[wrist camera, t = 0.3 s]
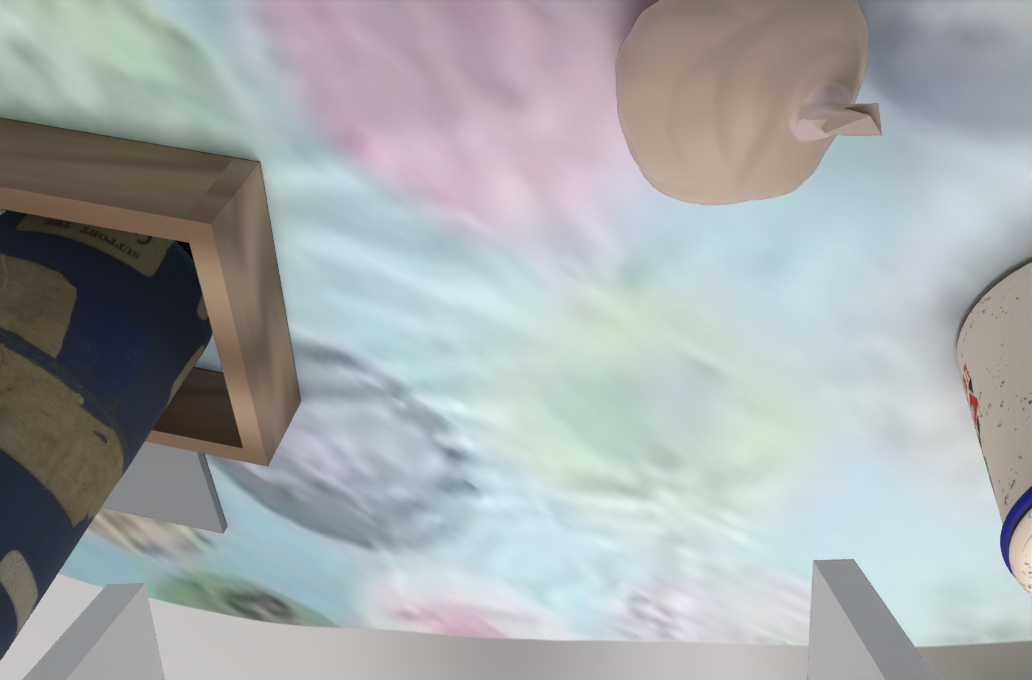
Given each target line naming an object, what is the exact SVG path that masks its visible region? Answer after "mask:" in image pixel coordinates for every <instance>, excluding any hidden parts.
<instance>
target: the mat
mask: <svg viewBox="0 0 1032 680" xmlns="http://www.w3.org/2000/svg"><path fill="white" fill-rule="evenodd" d="M102 508H105V509H109V510H114V511H119V512H123V513H128V514H133V515H138V516H142V517H147V518H152V519H157V520H161V521H166V522H171V523H175V524H180V525H185V526H190V527H194V528H199V529H204V530H208V531H213V532H218V533H223V534H224V532H225V530H226V528H227V525H226V522H225V519H224V515H223V512H222V509H221V506H220V503H219V500H218V497H217V493H216V490H215V487H214V484H213V481H212V478H211V475H210V471H209V468H208V465H207V462H206V459H205V456H204V453H199V452H194V451H189V450H184V449H179V448H174V447H169V446H164V445H160V444H155V443H150V442H144V443H143V445H142V447H141V448H140V450H139V451H138V453H137V455H136V456H135V458H134V459H133V461H132V463H131V464H130V466H129V467H128V469H127V470H126V472H125V473H124V475H123V476H122V477H121V479H120V480H119V481H118V483H117V484H116V486H115V487H114V489H113V490H112V492H111V493H110V495H109V496H108V498H107V500H106V501H105V503H104V504H103V506H102Z"/></svg>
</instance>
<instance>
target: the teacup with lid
mask: <svg viewBox="0 0 1032 680" xmlns="http://www.w3.org/2000/svg"><path fill="white" fill-rule="evenodd" d="M957 364H958V369H959V372H960V376H961V379H962V383H963V386H964V390H965V393H966V397H967V401H968V404H969V408H970V411H971V415H972V418H973V422H974V425H975V429H976V432H977V436H978V439H979V443H980V446H981V450H982V453H983V457H984V460H985V464H986V467H987V471H988V474H989V478H990V481H991V485H992V488H993V492H994V495H995V499H996V502H997V506H998V509H999V513H1000V516H1001V520H1002V523H1003V526H1002V531H1001V536H1000V546H1001V552H1002V556H1003V559H1004V561H1005V564H1006V566H1007V567H1008V569H1009V571H1010V572H1011V573H1012V575H1013V576H1014V577H1015V578H1016V579H1017V581H1018V583H1019V584H1020V585H1021V586H1022V587H1023V589H1024V590H1025V591H1026V592H1027V593H1028V594H1030V595H1031V596H1032V262H1031V263H1029V264H1027V265H1025V266H1023V267H1022V268H1020V269H1018V270H1017V271H1015V272H1013V273H1012V274H1010V275H1009V276H1007V277H1006V278H1005V279H1003V280H1002V281H1001V282H999V283H998V284H997V285H996V286H994V287H993V288H992V289H991V290H990V291H989V292H988V293H987V294H986V295H984V296H983V297H982V299H981V300H980V301H979V302H978V303H977V304H976V305H975V307H974V308H973V310H972V311H971V312H970V314H969V315H968V317H967V319H966V321H965V323H964V325H963V327H962V330H961V332H960V335H959V339H958V343H957Z"/></svg>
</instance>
